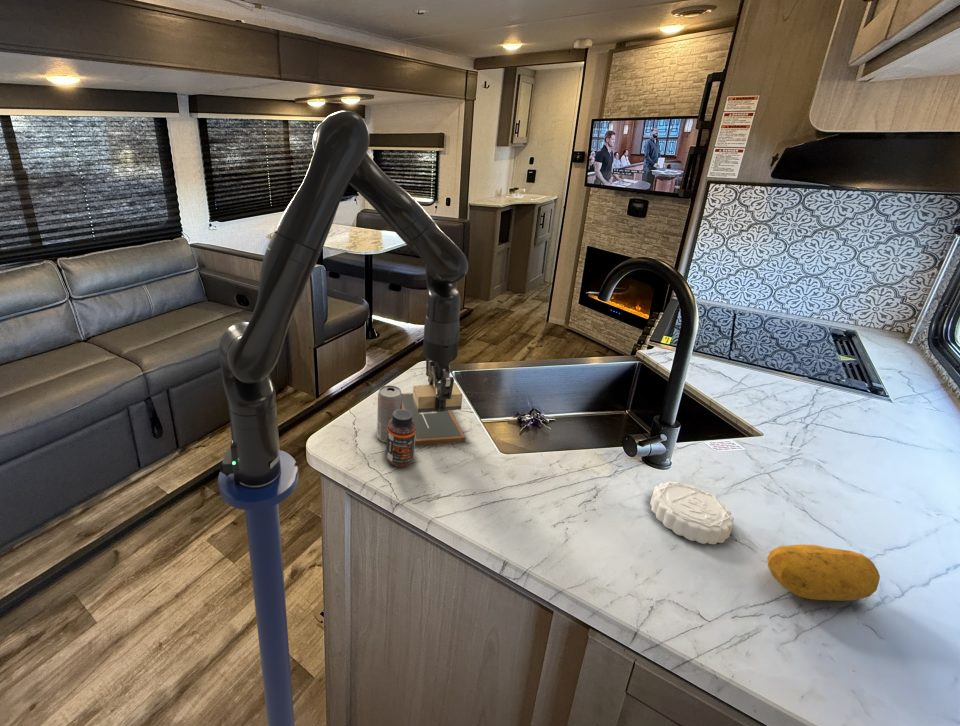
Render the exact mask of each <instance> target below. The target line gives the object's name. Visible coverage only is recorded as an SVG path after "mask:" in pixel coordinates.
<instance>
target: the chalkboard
mask: <svg viewBox="0 0 960 726" xmlns="http://www.w3.org/2000/svg"><path fill="white" fill-rule="evenodd" d="M402 409H405V410H408V411H409V412H411V414H412V420H413V422H414V423H415V425H416V433H415V447H416V446H427V445H428V446H429V445H441V444H443V445H444V444H456V443H466V442H467V437H466V435H465V433H464V431H463V430H462V428H461V426H460V424H459V422H458V420H457V419H456V417H455V415H454V413H453V410H448V411H441V412H437V411H434V412H420V413H418V412H417V409H416V407H415V404H414V402H413V392H409V393H402Z"/></svg>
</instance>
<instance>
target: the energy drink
mask: <svg viewBox="0 0 960 726" xmlns="http://www.w3.org/2000/svg"><path fill="white" fill-rule="evenodd" d="M402 394H403V393H402V390H401V388H399V387H398V386H396V385H391V384H389V385H384V386H381V387H380V388H379V390H378V392H377V416H376V417H377V418H376V419H377V421H376V437H377V438H378V440H380V442H383V443H385V444H387V426H388V422H389V421H390V420H391V419H392V417H393V412H394V411H395V410H398V409H402Z"/></svg>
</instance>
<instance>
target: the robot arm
mask: <svg viewBox="0 0 960 726" xmlns="http://www.w3.org/2000/svg"><path fill="white" fill-rule="evenodd" d="M370 140H371V139H370V131H369V127H368V124H367V123H366V121H365V119H364V118H363V117H362V116H361V115H360V114H358V113H356V112H355V111H352V110H339V111H335V112H333V113H331V114H329V115H328V116H326V117H325V118H324V119H323V120H322V121H321V122H320V123H319V124H318V125H317V127H316V128H315V130H314V133H313V135H312V148H313V149H312V150H313V151H314V152H313V154H312V157H311V160H310V163H309V166H308V169H307V171H306V174H305V177H304V179H303V180H302V183H301V185H300V186H299V188H298V190H297V191H296V193H295V194H294V196H293V197H292V198H291V200H290V202H289V203H288V205H287V207H285V210H284V212H283V213H282V215H281V217H280V219H279V220H278V223H277V224H276V226H275V228H274V231H273V233H272V235H271V238H270V240H269V241H268V244H267V247H266V249H265V252H264V256H263V259H262V263H261V268H260V269H261V270H260V276H259V284H258V286H259V287H258V293H257V294H258V295H257V299H256V303H255V306H254V309H253V312H252V314H251V316H250V319H249V321H244V322H243V321H242V322H236V323H234V324H232V325H231V326H230V327H228V328H226V329H225V330H224V332H223V334H222V336H221V338H220V341H219V345H218V354H219V362H220V369H221V377H222V385H223V389H224V393H225V396H226V400H227V408H228V417H229V424H230V433H231V442H230V446H229V447H230V448H229V449H225V452H224V456H223V460H222V461H221V462H220V464H219V466H218V470H219V471H221V472H222V473H223V474H225V475H226V476H228V475H229V474H232V473H233V475H234V484H235V485H241V486H243V487H245V488H249V489H259V488H264V487H267V486H269V485H271V484H272V483H274V482H275V481H276V480H277V479H278V478H279V476H280V474H281V462H280V451H279V450H280V437H279V423H278V409H277V396H276V395H277V394H276V388H275V385H274V383H273V380H272V376H271V373H272V372H273V371H274V370H275V367H276V365H277V364H278V361H279V358H280V356H281V352H282V349H283V347H284V344H285V340H286V336H287V333H288V331H289V327H290V325H291V322H292V318H293V317H294V314H295V312H296V310H297V307H298V305H299V302H300V300H301V298H302V296H303V294H304V291H305V289H306V287H307V284H308V282H309V279H310V277H311V275H312V273H313V272H314V270H315V267H316V265H317V263H318V260H319V258H320V256H321V253H322V252H323V248H324V246H325V245H326V244H325V243H326V242H327V238H328V236H329V233H330V231H331V229H332V226H333V222H334V220H335V217H336V215H337V212H338V208H339V206H340V204H341V201H342V198H343V196H344V194H345V192H346V191H347V188H349V187H348V186H350V187H352V188H353V189H354V190H355V191H356V192H357V193H358V194H360V196H362V198H364V200H365V201H366V202H367V203H368V204H369V205H370V206H371V207H372V208H373V209H374V210H375V211H376V212H377V214H379V216H380V217H381V218H382V219H383V220H384V221H385V222H386V224H388V226H389V227H390V228H391V229H392V230H393V232H395V234H396V235H397V236H398V237H399V238H400V239H401V240H402V241H403V242H404V243H405V245H406V246H407V247H409V248H410V249H411V250H412V251H413V252H415V253H416V254H417V256H418V257H419V258H420V259H421V260H422V261H423V263H424V264H425V281H426V290H427V297H426V298H427V299H426V307H425V308H426V309H425V310H426V311H425V319H424V326H423V344H422V355H423V357H424V358H425V376H426V377H427V382H428V385H433V386H434V387H435V388H436V401H435V410H436V411H437V412H441V411H445V408H446V399H451V394H452V389H453V384H454V383H455V378H454V377H453V376H450V374H451V365H450V364H451V362H453V361H455V360H457V358H458V354H459V341H460V332H461V330H460V329H461V325H460V324H461V323H460V316H461V304H462V300H461V299H462V298H461V295H460V292H459V290H458V283H459V282H461V281H463V279H464V278H465V277H466V276H467V274H468V270H469V262H468V258H467V256H466V255H465V253H464V252H463V250H461V249H460V248H459V246H457V244H456V243H455V242H454V241H453V240H452V239H451V238H450V237H448V236H447V234H445V232H444V231H442V230H441V228H440V227H439V225H438V224H437V223H436V221H435V220H434V219H433V218H432V217H431V215H430V214H429V213H428V212H427V211H426V210H425V208H424V207H423V206H422V205H421V204H420V203H419V201H418V200H416V199H415V198H414V197H413V195H411V194H410V193H409V192H408V191H406V189H404V188H403V187H401V185H399V184H398V183H397V182H395V180H393V179H392V178H391V177H390V176H388V175H387V174H386V173H385V172H384V171H383V170H382V169H381V168H380V167H379V165H378V164H377V163H376V162H375V161H374V159H373V158H372V157H371V156H370V154H369V152H368V151H369V148H370V142H371V141H370Z"/></svg>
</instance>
